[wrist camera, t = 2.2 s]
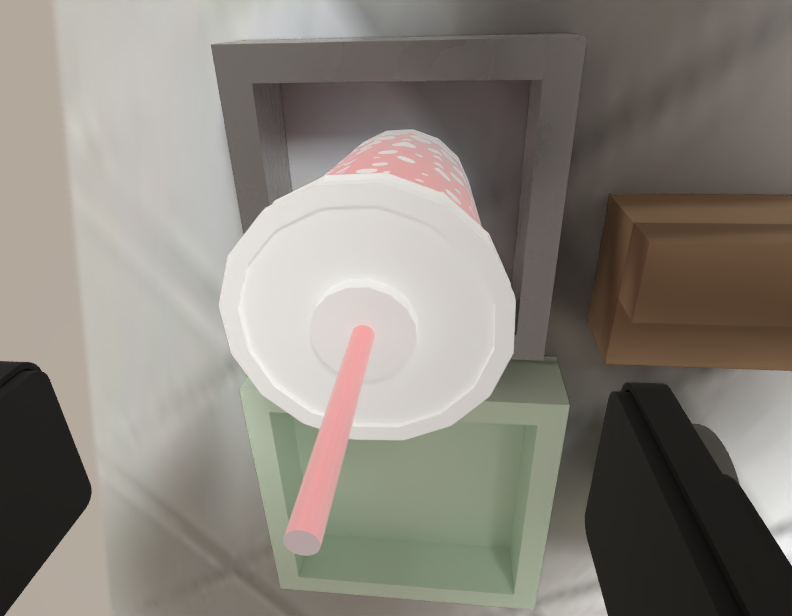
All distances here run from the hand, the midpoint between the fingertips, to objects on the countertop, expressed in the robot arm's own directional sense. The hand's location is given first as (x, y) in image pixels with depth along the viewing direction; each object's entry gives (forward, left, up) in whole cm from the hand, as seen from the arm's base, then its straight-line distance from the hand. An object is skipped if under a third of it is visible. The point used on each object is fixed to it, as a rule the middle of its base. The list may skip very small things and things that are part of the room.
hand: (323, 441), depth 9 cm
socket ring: (-1, 0, -12) cm, 12 cm away
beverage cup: (-1, 0, -12) cm, 12 cm away
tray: (+12, 0, -12) cm, 17 cm away
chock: (+2, +10, -12) cm, 16 cm away
